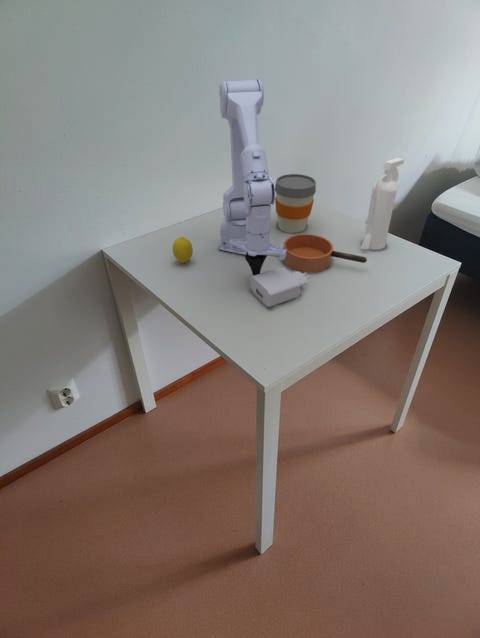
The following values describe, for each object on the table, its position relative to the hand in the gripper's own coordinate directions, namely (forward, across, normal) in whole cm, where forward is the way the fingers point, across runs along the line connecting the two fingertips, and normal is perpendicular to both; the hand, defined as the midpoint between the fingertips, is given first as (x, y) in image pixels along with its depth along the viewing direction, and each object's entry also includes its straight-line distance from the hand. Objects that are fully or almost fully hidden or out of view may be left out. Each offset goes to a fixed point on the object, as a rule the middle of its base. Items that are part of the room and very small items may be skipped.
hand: (256, 276), depth 106 cm
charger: (+2, +8, 0) cm, 8 cm away
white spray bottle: (+2, +25, +32) cm, 41 cm away
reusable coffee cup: (+2, -1, +35) cm, 35 cm away
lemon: (+2, -23, +2) cm, 23 cm away
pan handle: (-1, +20, +17) cm, 26 cm away
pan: (+2, +9, +17) cm, 19 cm away
